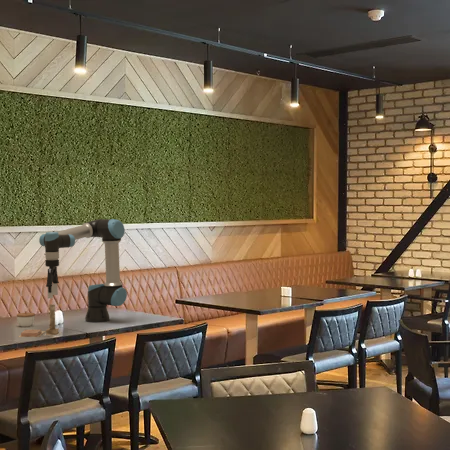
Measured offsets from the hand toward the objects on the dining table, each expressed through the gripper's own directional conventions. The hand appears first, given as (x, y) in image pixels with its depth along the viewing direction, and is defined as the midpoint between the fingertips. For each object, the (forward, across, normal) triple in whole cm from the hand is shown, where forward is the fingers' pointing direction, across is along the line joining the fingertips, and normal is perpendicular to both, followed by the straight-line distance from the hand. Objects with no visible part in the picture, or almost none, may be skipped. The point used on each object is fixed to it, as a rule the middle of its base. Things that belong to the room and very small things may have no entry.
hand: (52, 296), depth 414 cm
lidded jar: (+22, -27, -22) cm, 41 cm away
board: (+22, 0, -12) cm, 25 cm away
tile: (+20, -3, -12) cm, 24 cm away
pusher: (+21, 0, 0) cm, 21 cm away
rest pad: (+22, 0, 0) cm, 22 cm away
